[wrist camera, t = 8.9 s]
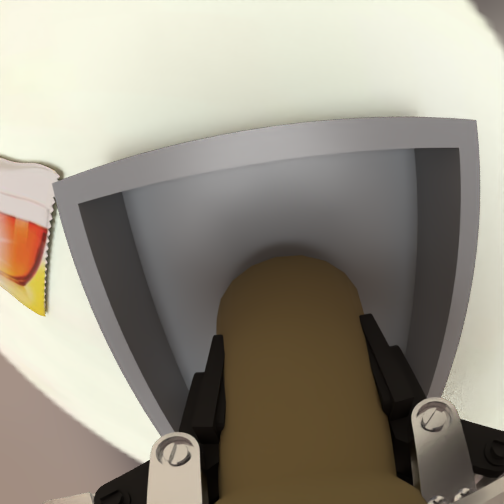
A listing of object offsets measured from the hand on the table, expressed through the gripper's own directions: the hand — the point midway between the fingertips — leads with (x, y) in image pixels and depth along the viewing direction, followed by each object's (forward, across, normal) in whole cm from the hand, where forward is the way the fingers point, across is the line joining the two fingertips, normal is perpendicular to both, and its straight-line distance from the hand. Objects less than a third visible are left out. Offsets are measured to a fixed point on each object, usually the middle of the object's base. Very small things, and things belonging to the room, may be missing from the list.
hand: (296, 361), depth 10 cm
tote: (+5, 0, 0) cm, 5 cm away
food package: (+6, +24, -12) cm, 28 cm away
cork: (+2, 0, 0) cm, 2 cm away
